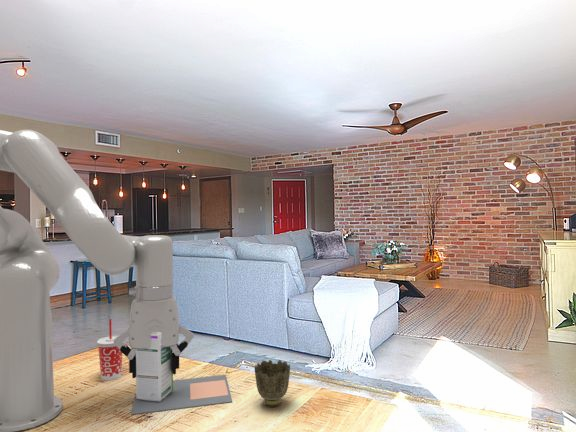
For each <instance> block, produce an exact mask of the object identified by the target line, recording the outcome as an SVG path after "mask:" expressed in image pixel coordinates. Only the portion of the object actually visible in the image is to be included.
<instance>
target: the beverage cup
mask: <svg viewBox="0 0 576 432" xmlns="http://www.w3.org/2000/svg"><path fill="white" fill-rule="evenodd" d="M108 321H109V322H108V323H109V324H108V325H109V327H108V328H109V329H108V330H109V334H108V335H109V336H105V337H101V338H99V339H98V340H97V341H96V346H97V347H98V355H99V369H100V379H101V380H102V381H113V380H117V379H119V378H120V377H121V376H122V371H123V369H122V368H123V353H122V352H121V351H120V349H119V348H118V347H117V346H116V345H115V344H114V340H115V338H116V337H118V336H119V335H112V334H113V333H112V319H111V318H109V319H108ZM123 342H124V343H125V339H124V340H123Z"/></svg>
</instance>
